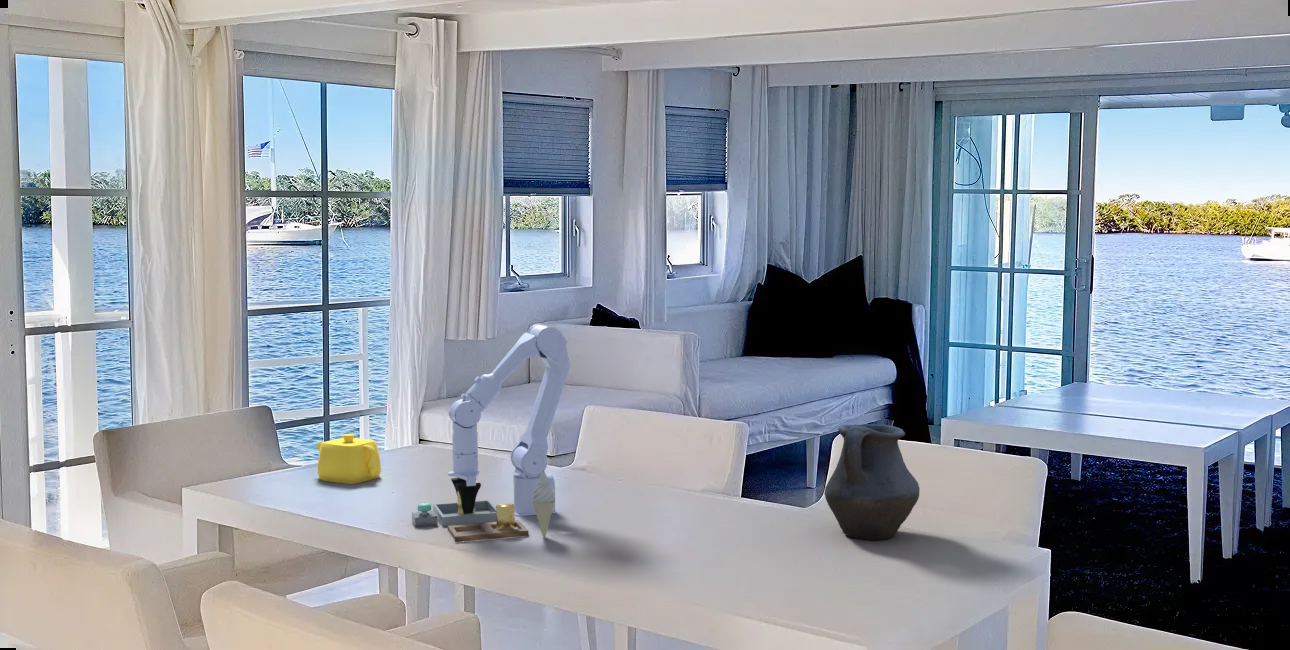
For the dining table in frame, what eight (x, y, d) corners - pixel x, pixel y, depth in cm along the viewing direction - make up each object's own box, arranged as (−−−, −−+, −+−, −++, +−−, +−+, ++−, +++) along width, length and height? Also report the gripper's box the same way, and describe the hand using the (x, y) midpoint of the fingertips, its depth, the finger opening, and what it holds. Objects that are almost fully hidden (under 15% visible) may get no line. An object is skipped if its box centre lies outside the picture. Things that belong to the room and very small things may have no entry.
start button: (430, 518, 293) (430, 502, 293) (432, 521, 290) (432, 505, 290) (417, 519, 292) (416, 503, 292) (418, 522, 290) (418, 506, 289)
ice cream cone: (534, 540, 277) (533, 471, 276) (530, 535, 282) (529, 467, 281) (557, 539, 279) (557, 470, 277) (553, 533, 284) (552, 465, 282)
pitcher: (932, 530, 284) (933, 418, 282) (898, 553, 266) (900, 433, 263) (844, 519, 295) (845, 410, 292) (805, 541, 276) (806, 425, 274)
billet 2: (512, 529, 288) (512, 502, 287) (516, 533, 284) (516, 506, 283) (494, 530, 286) (494, 504, 286) (498, 535, 283) (498, 508, 282)
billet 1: (473, 514, 300) (473, 488, 299) (476, 518, 296) (476, 492, 296) (456, 515, 299) (455, 490, 298) (459, 519, 295) (458, 493, 294)
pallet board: (518, 525, 291) (518, 519, 291) (528, 535, 282) (528, 530, 281) (447, 531, 286) (447, 525, 286) (455, 542, 277) (455, 536, 276)
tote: (489, 509, 306) (489, 500, 305) (500, 522, 293) (500, 512, 293) (433, 514, 302) (433, 504, 301) (442, 527, 289) (442, 517, 289)
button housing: (434, 521, 295) (434, 510, 294) (437, 526, 290) (437, 515, 290) (412, 523, 293) (411, 512, 293) (415, 528, 288) (414, 517, 288)
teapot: (302, 478, 343) (301, 434, 341) (335, 470, 353) (334, 427, 352) (358, 486, 332) (357, 441, 331) (391, 477, 343) (390, 433, 342)
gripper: (442, 447, 302) (443, 505, 303) (453, 459, 288) (454, 519, 289) (472, 446, 304) (473, 502, 305) (484, 457, 290) (485, 516, 291)
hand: (466, 510), depth 297 cm, fingers closed on billet 1, 4 cm apart
